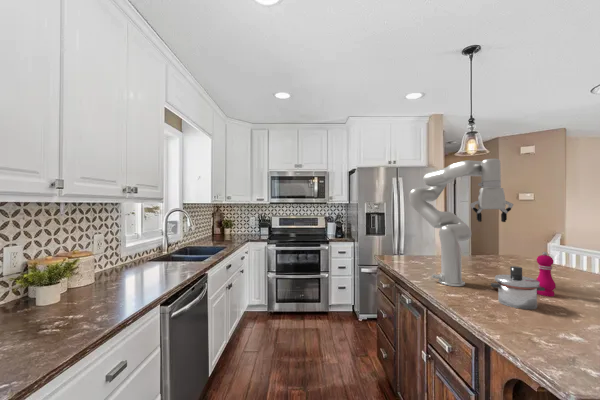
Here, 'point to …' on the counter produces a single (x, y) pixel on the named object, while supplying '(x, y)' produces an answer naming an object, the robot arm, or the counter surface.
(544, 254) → the pepper mill
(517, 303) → the pot
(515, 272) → the lid
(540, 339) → the counter surface
